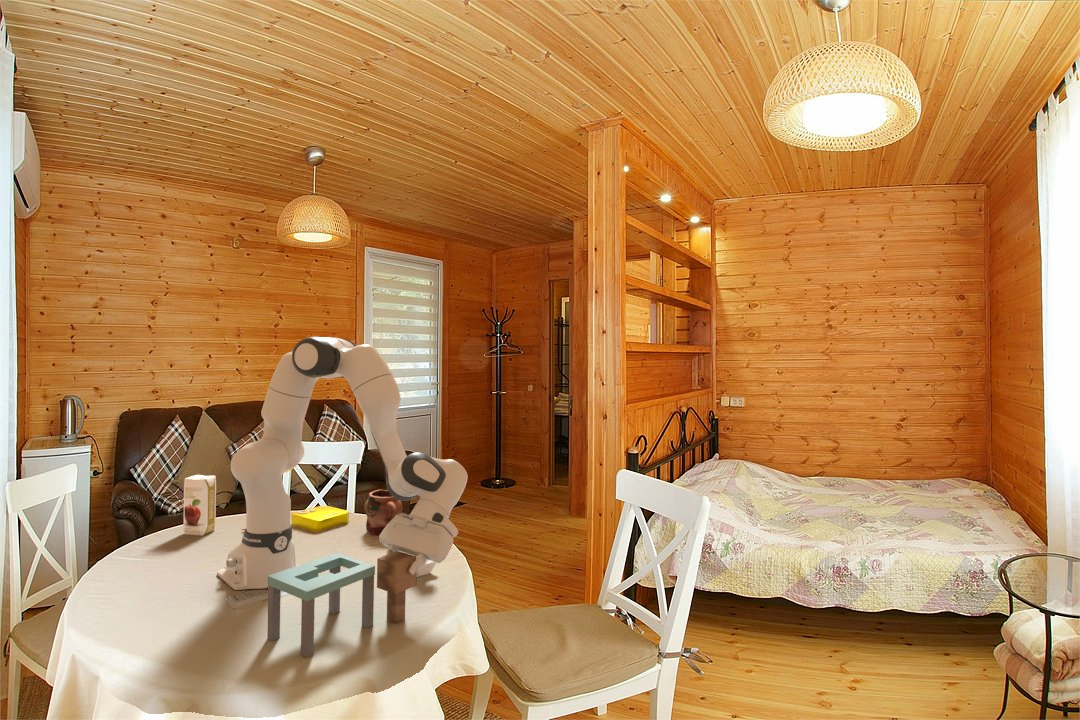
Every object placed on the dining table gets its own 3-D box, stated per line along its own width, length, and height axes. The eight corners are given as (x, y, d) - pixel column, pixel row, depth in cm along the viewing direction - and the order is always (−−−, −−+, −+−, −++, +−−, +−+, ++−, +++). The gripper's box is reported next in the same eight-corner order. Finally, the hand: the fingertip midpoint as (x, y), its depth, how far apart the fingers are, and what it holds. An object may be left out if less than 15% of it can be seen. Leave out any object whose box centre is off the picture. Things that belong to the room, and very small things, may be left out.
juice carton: (196, 528, 204) (196, 473, 203) (218, 529, 203) (219, 475, 202) (179, 535, 196) (180, 478, 196) (203, 536, 195) (203, 479, 195)
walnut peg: (376, 621, 140) (377, 558, 139) (396, 611, 145) (397, 550, 145) (395, 628, 136) (396, 564, 136) (415, 618, 142) (416, 556, 141)
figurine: (419, 581, 164) (420, 527, 163) (399, 572, 170) (400, 520, 170) (439, 574, 169) (441, 522, 169) (419, 565, 175) (420, 515, 175)
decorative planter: (413, 537, 201) (414, 496, 200) (381, 544, 193) (381, 502, 192) (385, 522, 216) (386, 485, 215) (354, 529, 207) (354, 489, 207)
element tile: (316, 533, 203) (317, 519, 203) (288, 525, 210) (289, 512, 210) (351, 522, 216) (351, 509, 215) (323, 515, 223) (323, 503, 223)
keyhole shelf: (335, 609, 145) (336, 552, 145) (373, 625, 138) (374, 565, 137) (266, 638, 130) (267, 575, 130) (305, 658, 122) (307, 591, 122)
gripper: (392, 505, 152) (361, 553, 144) (452, 519, 141) (421, 572, 133) (404, 518, 156) (375, 565, 148) (463, 533, 145) (435, 585, 137)
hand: (397, 569), depth 141 cm, fingers closed on walnut peg, 6 cm apart
